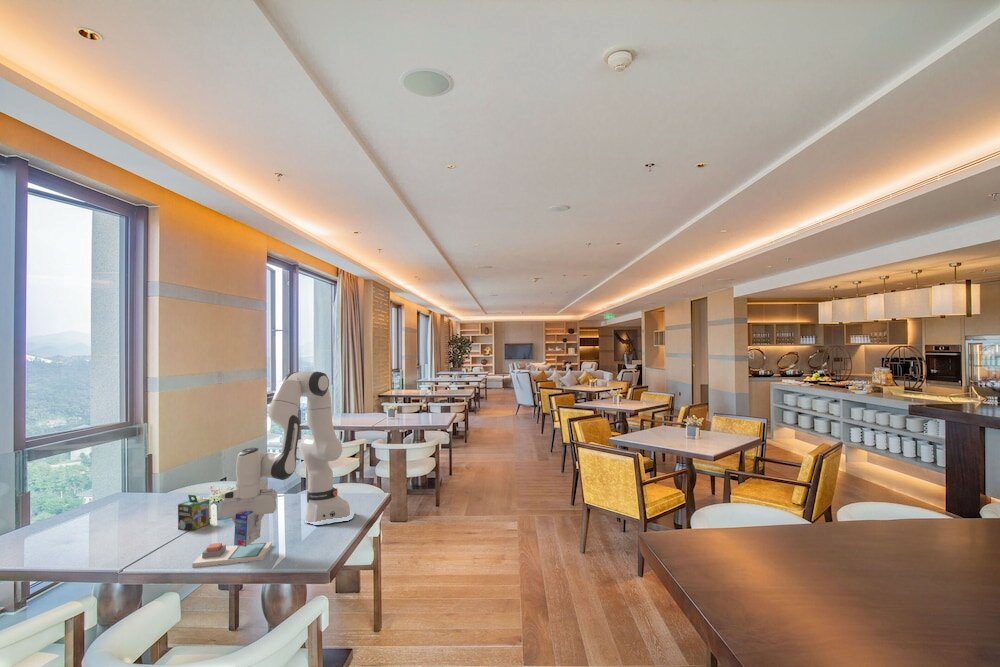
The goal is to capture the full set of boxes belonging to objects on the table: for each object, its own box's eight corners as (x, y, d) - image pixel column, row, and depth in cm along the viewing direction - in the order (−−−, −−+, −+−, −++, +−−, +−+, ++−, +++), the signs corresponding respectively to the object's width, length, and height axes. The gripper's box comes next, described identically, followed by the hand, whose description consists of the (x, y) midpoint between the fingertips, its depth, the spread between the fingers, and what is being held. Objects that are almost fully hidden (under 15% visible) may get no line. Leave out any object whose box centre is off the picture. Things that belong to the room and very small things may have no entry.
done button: (221, 548, 185) (221, 542, 186) (218, 552, 182) (218, 546, 182) (210, 549, 185) (210, 543, 185) (206, 553, 181) (206, 548, 181)
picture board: (271, 545, 194) (271, 537, 194) (262, 560, 180) (262, 550, 180) (206, 552, 189) (206, 543, 189) (192, 567, 175) (192, 557, 175)
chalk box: (210, 524, 220) (210, 492, 221) (191, 531, 212) (192, 498, 212) (195, 522, 223) (196, 490, 224) (176, 529, 215) (177, 496, 215)
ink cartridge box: (247, 536, 191) (250, 499, 192) (260, 537, 191) (263, 500, 191) (232, 545, 181) (235, 507, 182) (246, 547, 181) (249, 508, 181)
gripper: (278, 486, 192) (278, 521, 191) (223, 490, 187) (222, 525, 187) (274, 490, 186) (274, 526, 185) (217, 495, 181) (216, 531, 181)
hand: (248, 526), depth 186 cm, fingers closed on ink cartridge box, 6 cm apart
